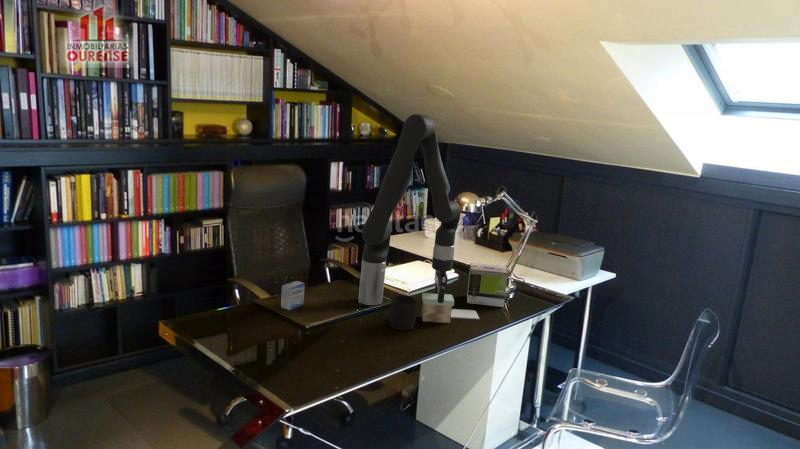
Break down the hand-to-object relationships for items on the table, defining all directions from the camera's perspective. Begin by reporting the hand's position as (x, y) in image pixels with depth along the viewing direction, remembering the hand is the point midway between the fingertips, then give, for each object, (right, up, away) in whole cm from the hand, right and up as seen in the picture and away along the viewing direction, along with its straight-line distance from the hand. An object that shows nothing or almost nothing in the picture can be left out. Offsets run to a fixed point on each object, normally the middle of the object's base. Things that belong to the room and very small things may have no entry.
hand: (438, 298), depth 221 cm
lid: (0, -1, 0) cm, 1 cm away
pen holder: (-14, -9, -7) cm, 18 cm away
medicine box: (-54, -3, +2) cm, 54 cm away
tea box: (+20, -5, +26) cm, 33 cm away
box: (-1, -8, +2) cm, 8 cm away
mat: (+9, -7, +10) cm, 15 cm away
